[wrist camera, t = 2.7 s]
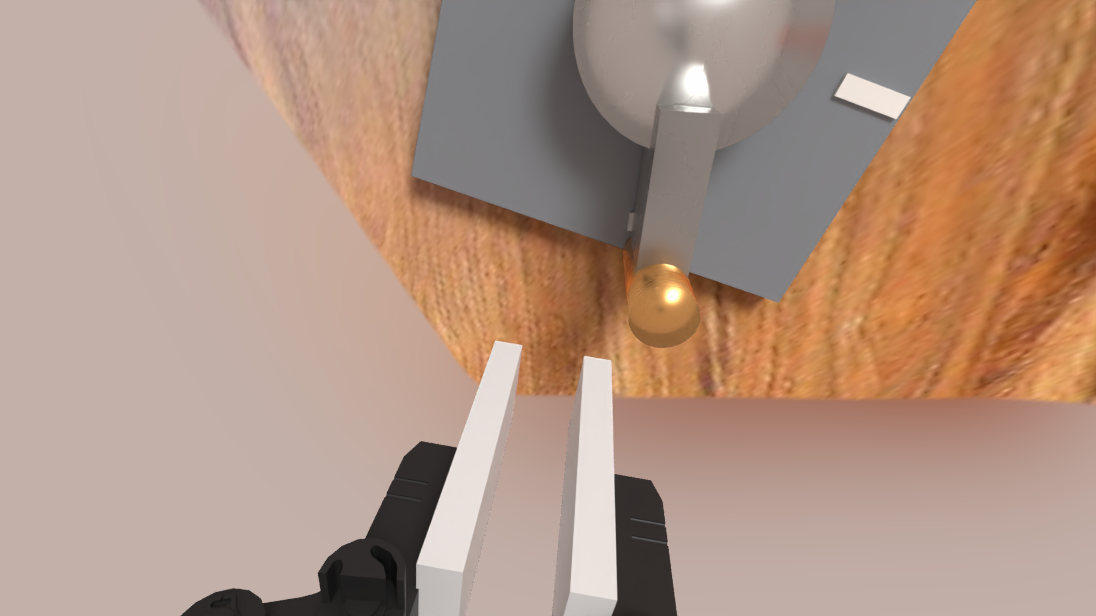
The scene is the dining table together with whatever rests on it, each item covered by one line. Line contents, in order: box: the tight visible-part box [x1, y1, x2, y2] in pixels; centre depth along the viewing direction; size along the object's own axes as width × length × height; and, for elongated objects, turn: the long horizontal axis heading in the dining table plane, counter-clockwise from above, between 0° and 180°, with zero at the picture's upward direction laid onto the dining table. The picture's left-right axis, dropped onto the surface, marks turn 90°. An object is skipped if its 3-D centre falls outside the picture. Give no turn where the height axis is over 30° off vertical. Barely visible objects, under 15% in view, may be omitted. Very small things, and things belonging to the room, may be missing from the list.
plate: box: [411, 0, 977, 303], centre depth 23 cm, size 22×22×2 cm
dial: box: [573, 0, 835, 348], centre depth 21 cm, size 18×10×7 cm, turn 177°
